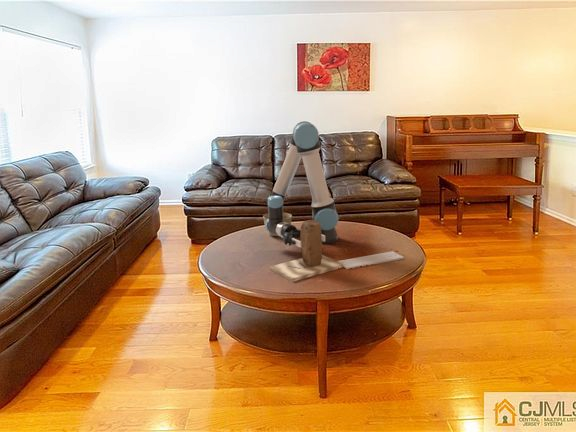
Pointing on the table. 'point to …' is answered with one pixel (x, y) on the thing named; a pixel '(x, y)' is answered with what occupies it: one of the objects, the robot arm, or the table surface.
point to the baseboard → (370, 259)
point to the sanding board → (304, 268)
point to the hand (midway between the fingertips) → (313, 241)
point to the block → (311, 242)
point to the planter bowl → (286, 219)
